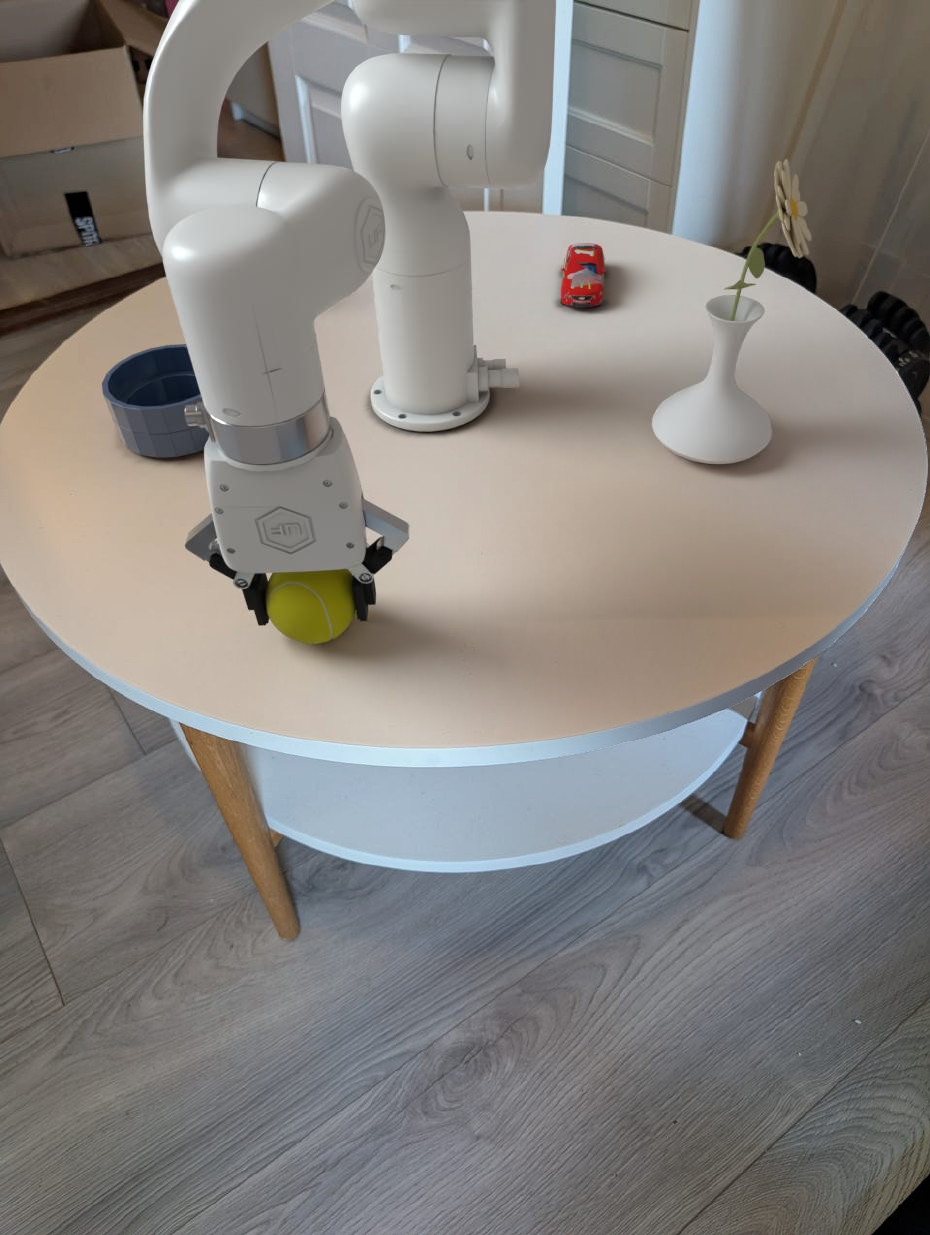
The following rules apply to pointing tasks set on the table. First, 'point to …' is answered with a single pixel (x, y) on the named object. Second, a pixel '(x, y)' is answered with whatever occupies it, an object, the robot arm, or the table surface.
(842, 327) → the table surface
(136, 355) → the blue round bowl
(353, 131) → the robot arm
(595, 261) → the race car
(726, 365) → the flower in vase
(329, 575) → the tennis ball
